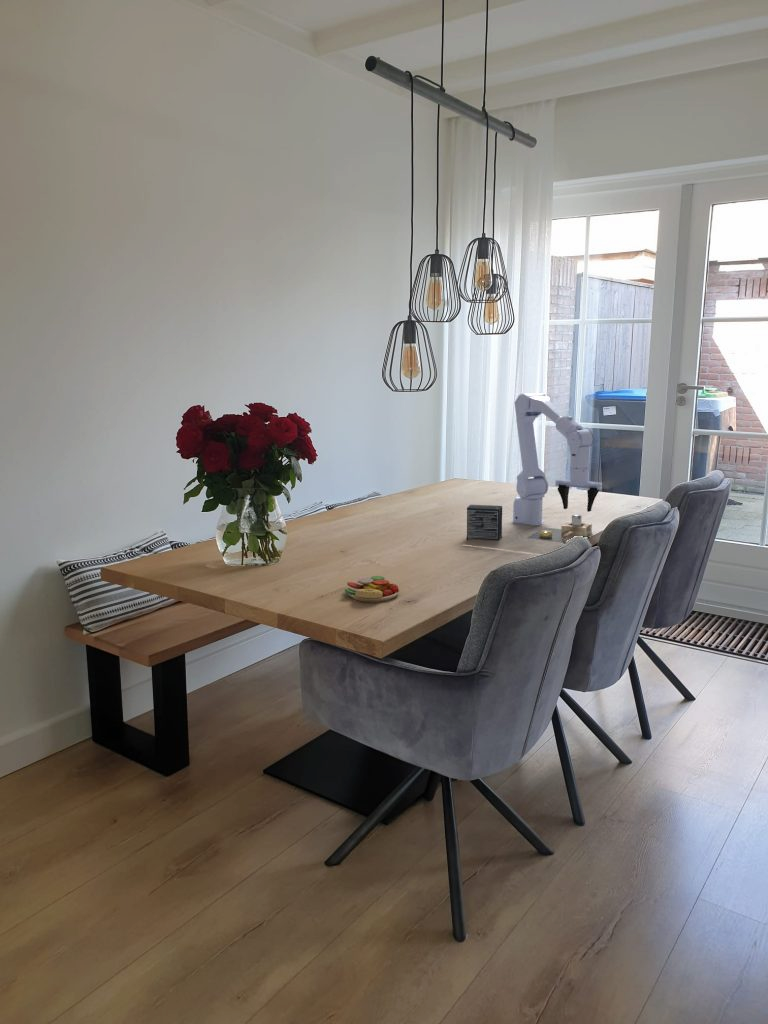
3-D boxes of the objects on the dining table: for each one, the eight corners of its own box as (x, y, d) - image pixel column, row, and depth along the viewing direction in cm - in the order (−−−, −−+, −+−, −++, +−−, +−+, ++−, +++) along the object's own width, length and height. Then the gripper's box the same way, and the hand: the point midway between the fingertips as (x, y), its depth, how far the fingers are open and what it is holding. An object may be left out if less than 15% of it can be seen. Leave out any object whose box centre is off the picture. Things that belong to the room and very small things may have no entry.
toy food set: (364, 607, 193) (364, 594, 192) (334, 594, 203) (334, 581, 203) (409, 597, 200) (409, 584, 200) (378, 584, 211) (378, 572, 210)
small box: (502, 537, 261) (503, 505, 259) (499, 542, 254) (500, 509, 252) (469, 535, 263) (470, 503, 261) (466, 540, 257) (466, 507, 255)
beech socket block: (561, 534, 261) (561, 525, 261) (568, 530, 268) (568, 521, 267) (584, 537, 258) (585, 528, 257) (591, 532, 264) (591, 523, 264)
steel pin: (569, 534, 262) (570, 515, 261) (573, 532, 265) (574, 514, 263) (578, 535, 261) (579, 516, 259) (582, 533, 263) (583, 515, 262)
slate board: (526, 539, 258) (526, 537, 258) (544, 528, 272) (544, 527, 272) (573, 544, 250) (573, 543, 250) (589, 533, 265) (589, 532, 265)
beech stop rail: (562, 541, 252) (563, 535, 252) (569, 537, 258) (569, 531, 257) (566, 542, 252) (566, 535, 251) (572, 537, 257) (573, 531, 257)
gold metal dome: (537, 537, 257) (537, 532, 257) (541, 535, 261) (541, 529, 261) (549, 539, 256) (549, 533, 255) (553, 536, 259) (554, 531, 259)
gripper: (553, 467, 259) (551, 509, 261) (598, 471, 252) (596, 514, 254) (560, 464, 265) (558, 505, 267) (604, 468, 258) (602, 510, 260)
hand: (577, 509), depth 261 cm, fingers open, 7 cm apart
